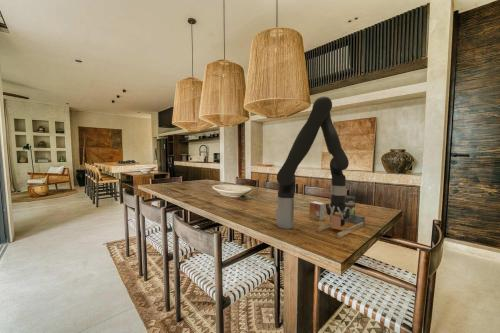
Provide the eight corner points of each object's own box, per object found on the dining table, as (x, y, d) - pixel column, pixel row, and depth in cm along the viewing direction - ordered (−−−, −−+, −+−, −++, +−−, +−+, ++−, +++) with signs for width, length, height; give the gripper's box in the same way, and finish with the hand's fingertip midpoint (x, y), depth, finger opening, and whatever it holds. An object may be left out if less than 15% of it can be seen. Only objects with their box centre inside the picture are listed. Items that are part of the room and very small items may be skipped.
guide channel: (317, 231, 114) (318, 221, 114) (344, 220, 133) (344, 212, 133) (339, 237, 105) (339, 228, 105) (364, 225, 124) (364, 216, 124)
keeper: (330, 225, 116) (330, 215, 115) (335, 223, 119) (335, 213, 118) (339, 228, 112) (339, 217, 111) (344, 226, 115) (344, 215, 115)
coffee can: (358, 220, 134) (359, 198, 133) (342, 220, 133) (343, 198, 133) (350, 215, 144) (350, 194, 143) (335, 215, 144) (335, 194, 143)
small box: (309, 218, 138) (309, 202, 137) (313, 216, 141) (314, 200, 141) (320, 221, 132) (320, 204, 131) (324, 219, 135) (325, 203, 135)
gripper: (322, 192, 117) (321, 222, 119) (347, 196, 106) (346, 229, 107) (329, 191, 122) (329, 219, 123) (354, 194, 111) (353, 226, 112)
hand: (337, 224), depth 115 cm, fingers closed on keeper, 5 cm apart
